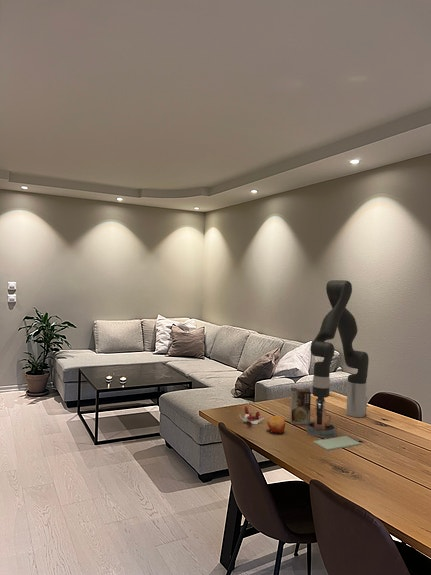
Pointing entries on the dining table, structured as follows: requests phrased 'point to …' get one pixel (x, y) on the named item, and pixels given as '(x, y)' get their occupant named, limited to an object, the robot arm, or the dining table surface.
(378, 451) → the dining table surface
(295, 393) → the coffee box
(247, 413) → the figurine
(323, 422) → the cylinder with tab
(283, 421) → the fruit
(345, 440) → the mat
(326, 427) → the holder
